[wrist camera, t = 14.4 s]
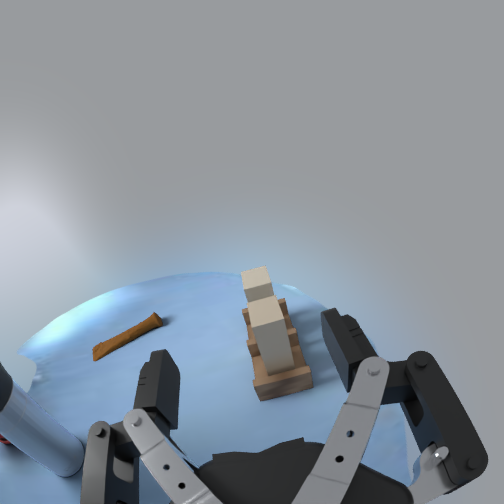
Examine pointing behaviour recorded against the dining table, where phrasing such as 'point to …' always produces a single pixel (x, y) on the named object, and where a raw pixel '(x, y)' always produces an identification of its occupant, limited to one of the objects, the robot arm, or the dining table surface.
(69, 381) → the dining table surface
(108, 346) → the primitive tool
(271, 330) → the beige rectangular block
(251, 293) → the tall square post
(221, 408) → the dining table surface
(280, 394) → the rack
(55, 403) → the dining table surface
